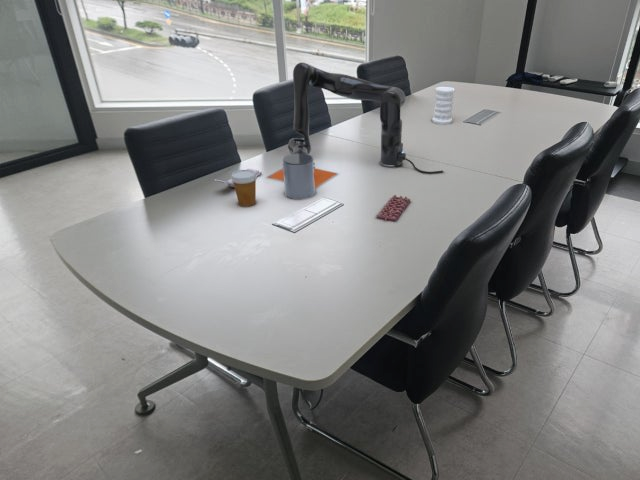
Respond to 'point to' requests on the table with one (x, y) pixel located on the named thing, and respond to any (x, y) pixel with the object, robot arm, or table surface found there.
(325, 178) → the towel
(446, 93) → the decorative container
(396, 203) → the red flat knobbed bar
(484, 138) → the table surface
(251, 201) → the disposable coffee cup
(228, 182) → the grey white handled utensil
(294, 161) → the crock
